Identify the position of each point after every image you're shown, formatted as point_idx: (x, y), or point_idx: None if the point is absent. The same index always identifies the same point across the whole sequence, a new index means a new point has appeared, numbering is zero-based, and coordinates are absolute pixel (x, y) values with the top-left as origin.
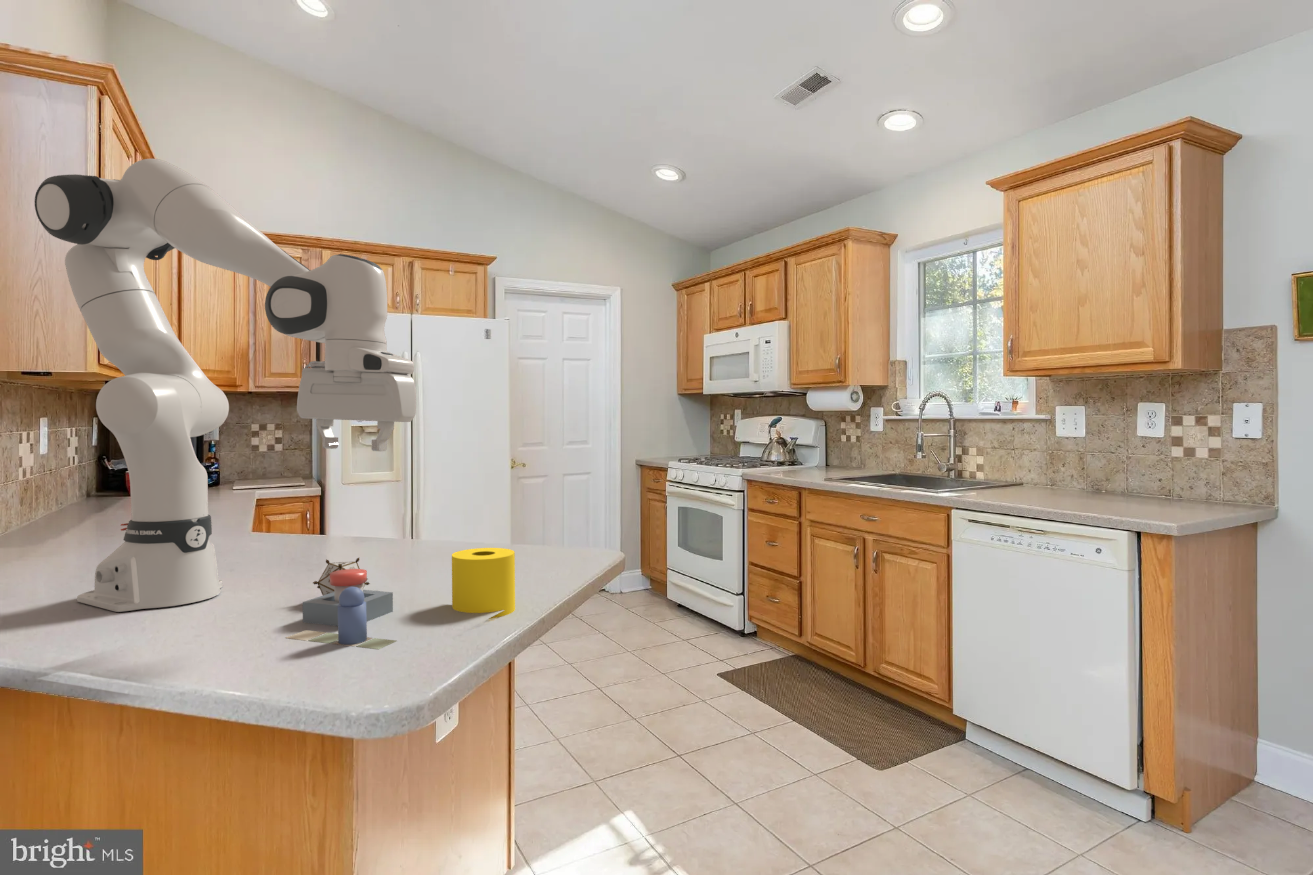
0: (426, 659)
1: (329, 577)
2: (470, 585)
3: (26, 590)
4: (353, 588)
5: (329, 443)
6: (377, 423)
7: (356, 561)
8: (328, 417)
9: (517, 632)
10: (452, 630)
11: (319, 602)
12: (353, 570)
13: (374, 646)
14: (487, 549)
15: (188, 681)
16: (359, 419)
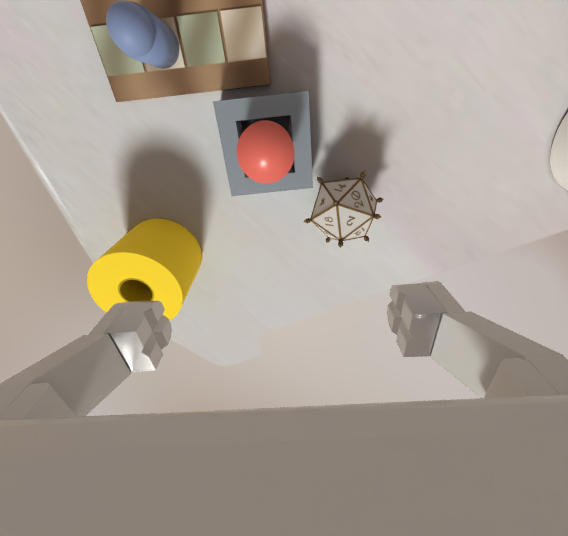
0: (35, 52)
1: (346, 189)
2: (129, 236)
3: None
4: (113, 21)
5: (405, 296)
6: (25, 413)
7: (340, 240)
8: (467, 406)
9: (55, 198)
10: (124, 173)
11: (280, 100)
12: (270, 169)
13: (107, 35)
14: None
15: None
16: (131, 415)
